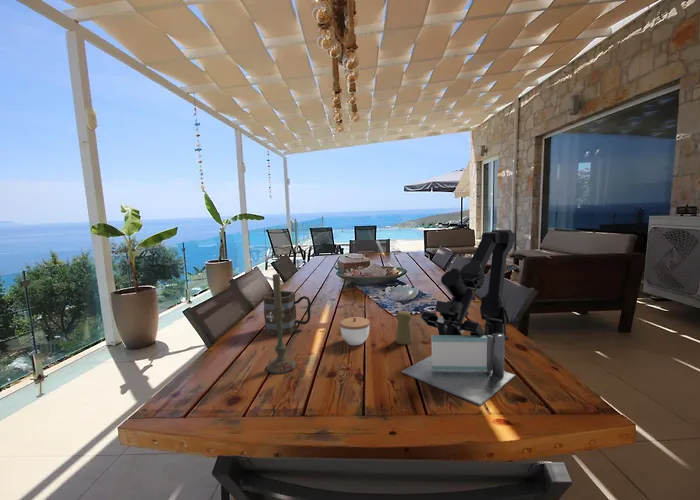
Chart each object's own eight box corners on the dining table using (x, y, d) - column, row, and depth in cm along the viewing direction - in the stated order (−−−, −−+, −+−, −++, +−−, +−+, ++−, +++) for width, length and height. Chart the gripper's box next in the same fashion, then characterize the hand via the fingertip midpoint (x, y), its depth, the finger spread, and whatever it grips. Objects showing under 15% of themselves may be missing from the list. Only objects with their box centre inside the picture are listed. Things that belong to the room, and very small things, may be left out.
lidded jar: (373, 338, 125) (372, 313, 124) (365, 349, 115) (364, 323, 114) (346, 335, 128) (345, 312, 127) (336, 346, 118) (335, 320, 117)
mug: (260, 336, 131) (257, 299, 129) (268, 325, 144) (266, 291, 143) (310, 334, 131) (308, 297, 129) (313, 323, 144) (312, 289, 142)
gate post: (515, 376, 92) (515, 334, 91) (480, 405, 79) (480, 357, 78) (440, 352, 110) (440, 317, 109) (401, 372, 97) (401, 333, 96)
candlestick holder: (270, 376, 98) (264, 276, 94) (263, 364, 106) (257, 271, 102) (300, 369, 102) (295, 272, 98) (291, 358, 110) (286, 268, 107)
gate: (490, 368, 96) (491, 334, 95) (493, 371, 94) (493, 337, 93) (431, 367, 98) (431, 334, 97) (432, 370, 96) (432, 337, 95)
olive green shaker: (412, 344, 117) (411, 314, 116) (395, 344, 118) (394, 314, 117) (412, 338, 123) (412, 309, 122) (396, 337, 124) (395, 309, 123)
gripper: (423, 285, 106) (402, 328, 100) (479, 294, 92) (458, 345, 86) (437, 304, 112) (418, 345, 106) (492, 315, 98) (473, 363, 92)
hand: (440, 349), depth 97 cm, fingers closed
